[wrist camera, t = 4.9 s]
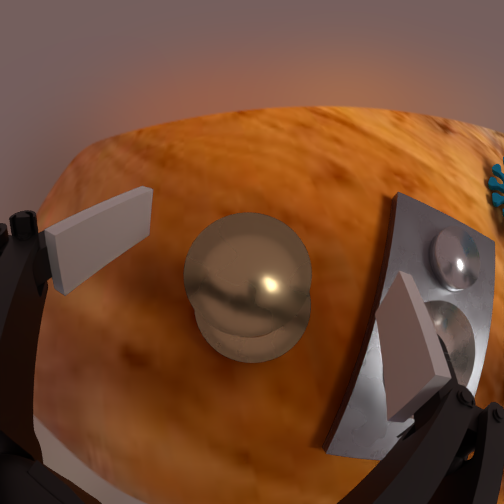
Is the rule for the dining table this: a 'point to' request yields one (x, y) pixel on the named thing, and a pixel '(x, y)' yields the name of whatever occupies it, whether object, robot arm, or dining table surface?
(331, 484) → the dining table surface
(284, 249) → the metal knob
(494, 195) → the gear
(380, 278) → the carrier plate
